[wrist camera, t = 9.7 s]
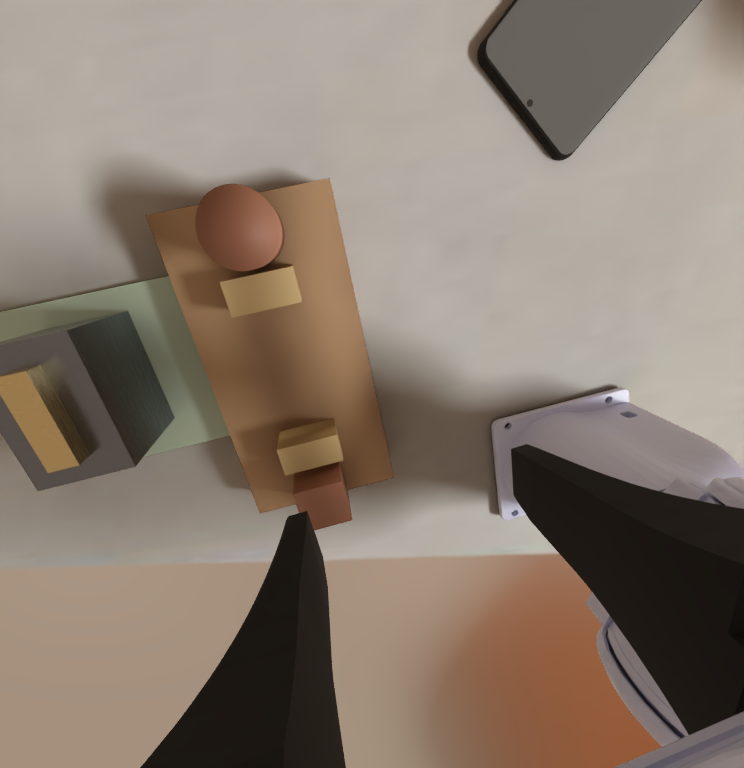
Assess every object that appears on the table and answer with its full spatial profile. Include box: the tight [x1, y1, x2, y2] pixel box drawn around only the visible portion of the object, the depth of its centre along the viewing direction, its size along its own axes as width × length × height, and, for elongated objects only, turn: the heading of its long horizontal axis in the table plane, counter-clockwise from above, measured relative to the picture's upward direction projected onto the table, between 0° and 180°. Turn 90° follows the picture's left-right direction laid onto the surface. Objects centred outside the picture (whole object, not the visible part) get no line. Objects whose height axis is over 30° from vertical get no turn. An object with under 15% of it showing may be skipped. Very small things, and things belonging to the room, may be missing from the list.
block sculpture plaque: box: [146, 178, 394, 530], centre depth 19 cm, size 8×16×5 cm, turn 11°
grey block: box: [0, 311, 175, 491], centre depth 17 cm, size 4×6×6 cm, turn 11°
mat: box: [0, 276, 230, 457], centre depth 20 cm, size 9×9×1 cm
